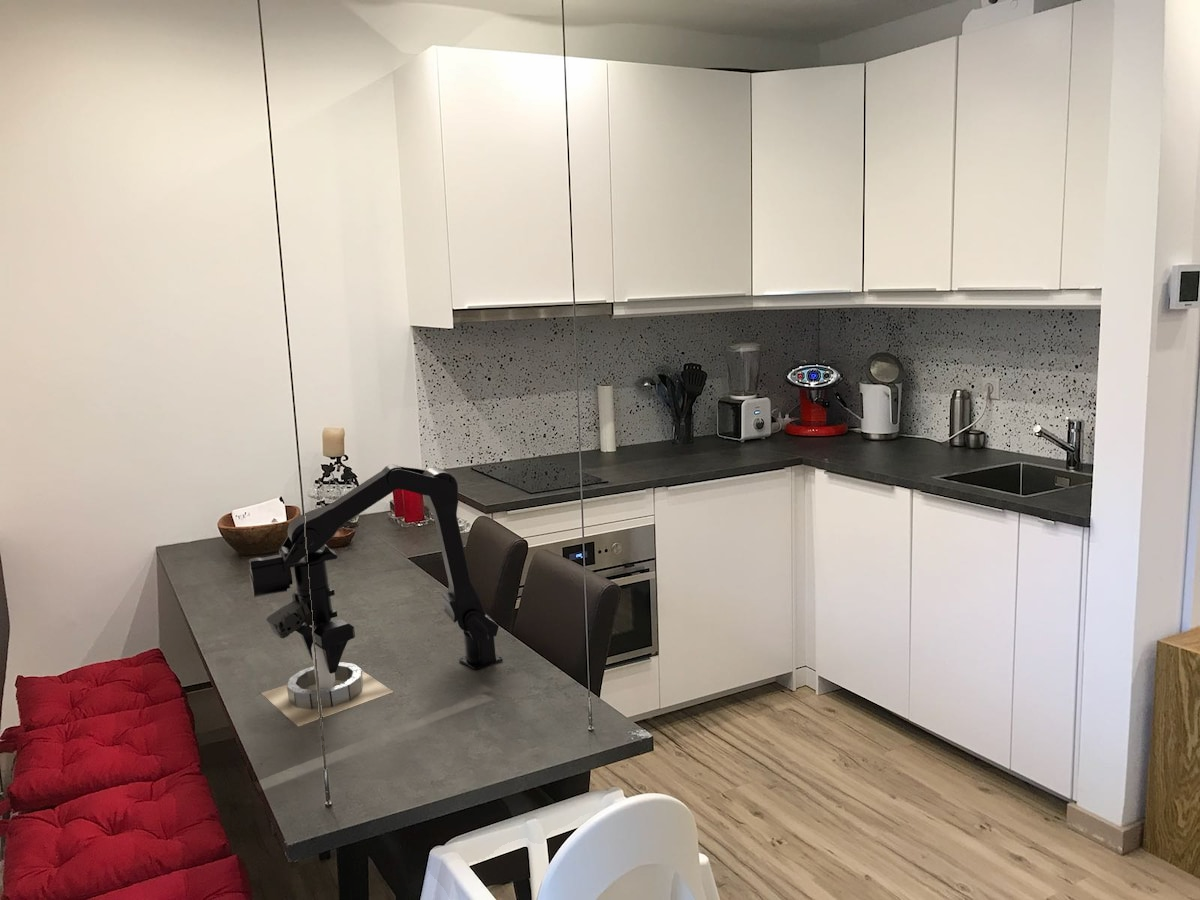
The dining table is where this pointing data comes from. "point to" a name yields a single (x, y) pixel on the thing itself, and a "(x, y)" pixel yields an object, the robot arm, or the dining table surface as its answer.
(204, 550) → the dining table surface
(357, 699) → the birch board
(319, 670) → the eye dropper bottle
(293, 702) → the steel collar
